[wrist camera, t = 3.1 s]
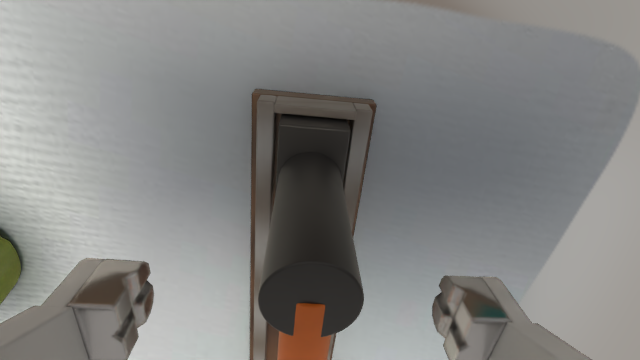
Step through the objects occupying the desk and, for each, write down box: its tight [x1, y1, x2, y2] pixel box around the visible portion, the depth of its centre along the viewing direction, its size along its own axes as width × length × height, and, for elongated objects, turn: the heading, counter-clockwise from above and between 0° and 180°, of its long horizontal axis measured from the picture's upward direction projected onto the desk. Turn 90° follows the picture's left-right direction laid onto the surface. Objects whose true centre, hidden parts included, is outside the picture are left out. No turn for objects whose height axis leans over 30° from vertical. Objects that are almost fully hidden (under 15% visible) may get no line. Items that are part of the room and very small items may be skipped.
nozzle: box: [258, 114, 364, 360], centre depth 13 cm, size 6×3×10 cm, turn 174°
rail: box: [250, 89, 376, 360], centre depth 23 cm, size 31×6×3 cm, turn 174°
